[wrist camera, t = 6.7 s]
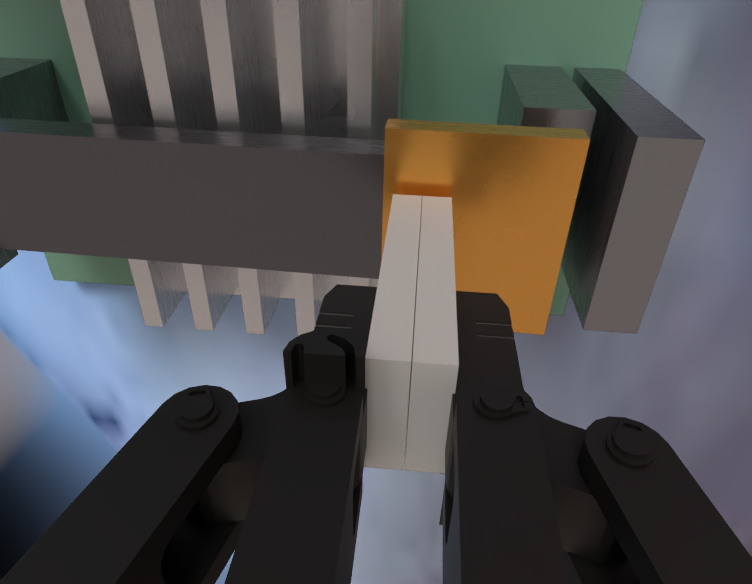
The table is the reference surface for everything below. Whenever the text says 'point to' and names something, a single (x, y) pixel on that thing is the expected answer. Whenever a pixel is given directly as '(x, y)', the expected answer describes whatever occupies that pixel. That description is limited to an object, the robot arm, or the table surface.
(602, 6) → the board
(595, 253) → the lug
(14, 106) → the forked tab bracket
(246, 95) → the heatsink
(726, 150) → the table surface
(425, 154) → the strap
